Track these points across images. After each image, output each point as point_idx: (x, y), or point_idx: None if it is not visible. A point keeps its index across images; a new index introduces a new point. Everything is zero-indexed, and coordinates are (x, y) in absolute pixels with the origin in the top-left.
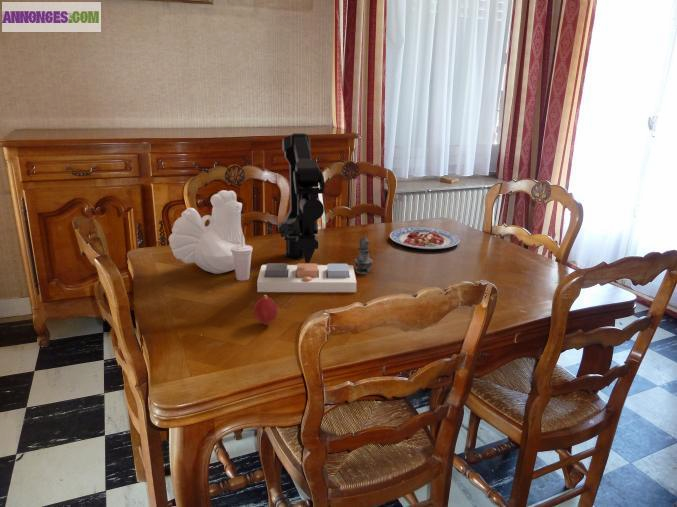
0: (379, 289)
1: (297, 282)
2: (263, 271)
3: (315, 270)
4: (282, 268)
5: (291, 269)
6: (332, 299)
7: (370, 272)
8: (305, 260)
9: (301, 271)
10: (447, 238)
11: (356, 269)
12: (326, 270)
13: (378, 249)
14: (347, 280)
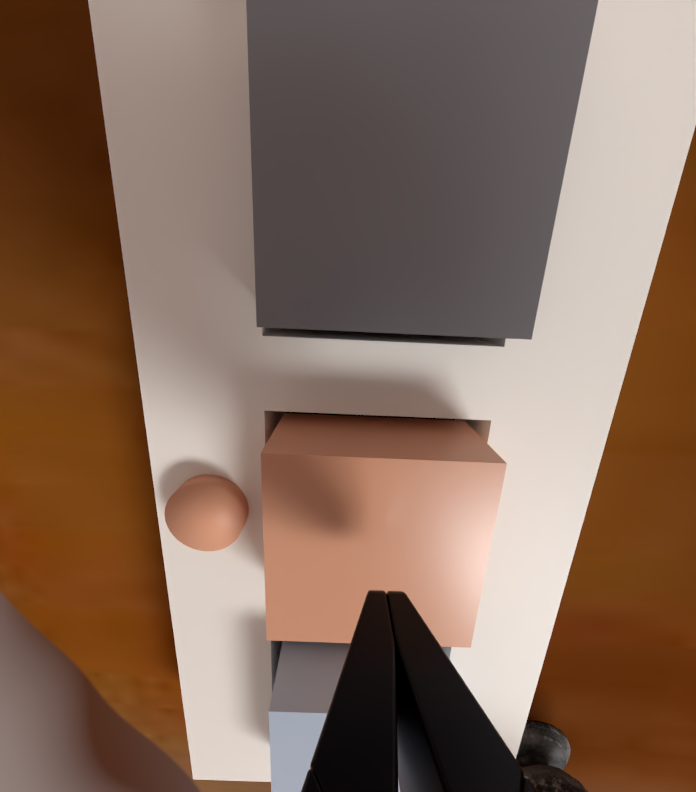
0: (263, 782)
1: (147, 426)
2: None
3: (271, 624)
4: (332, 271)
5: (489, 374)
6: (104, 592)
7: None
8: (359, 621)
9: (263, 495)
10: None
11: (536, 739)
12: None
13: None
14: (223, 743)
